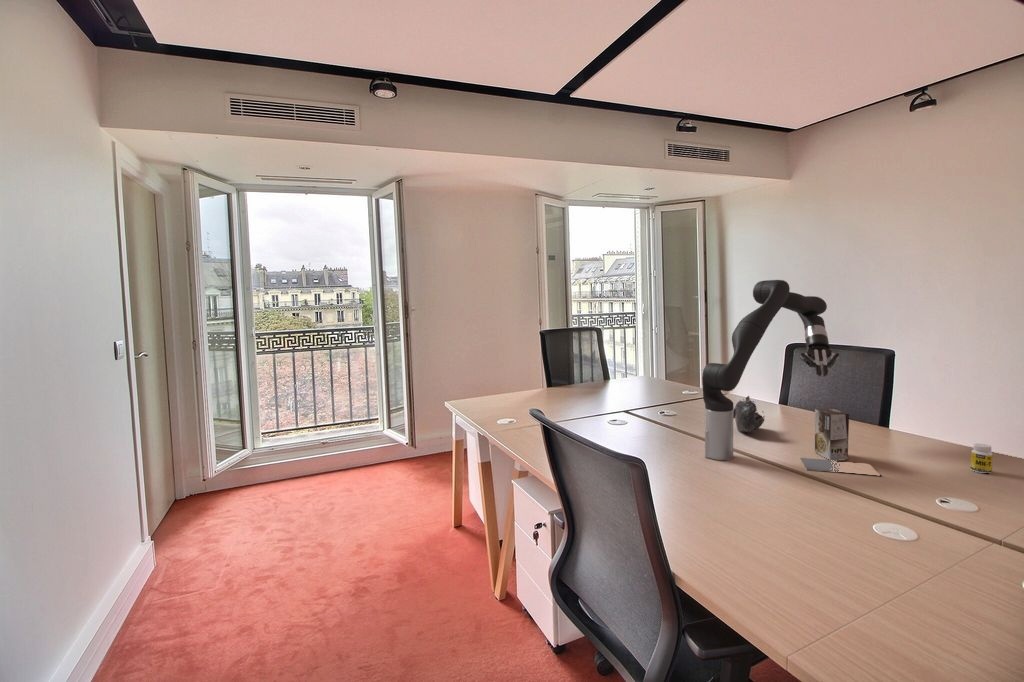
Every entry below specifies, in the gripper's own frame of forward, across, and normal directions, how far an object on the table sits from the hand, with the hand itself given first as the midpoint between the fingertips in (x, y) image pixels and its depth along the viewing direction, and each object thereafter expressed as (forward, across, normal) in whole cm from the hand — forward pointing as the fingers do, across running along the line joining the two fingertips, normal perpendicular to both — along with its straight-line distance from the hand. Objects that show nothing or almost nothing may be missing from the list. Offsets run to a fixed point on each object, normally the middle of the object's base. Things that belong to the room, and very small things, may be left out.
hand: (822, 375), depth 182 cm
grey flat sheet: (+38, 0, -1) cm, 38 cm away
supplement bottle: (+33, +39, +4) cm, 51 cm away
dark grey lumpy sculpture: (+13, -25, +24) cm, 37 cm away
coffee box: (+30, 0, +7) cm, 31 cm away
